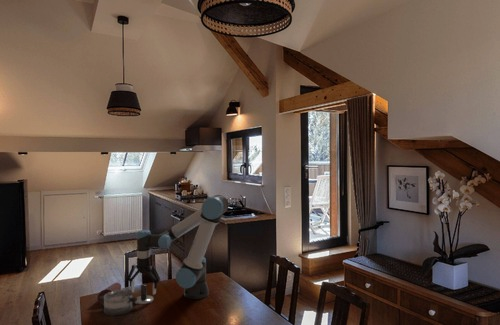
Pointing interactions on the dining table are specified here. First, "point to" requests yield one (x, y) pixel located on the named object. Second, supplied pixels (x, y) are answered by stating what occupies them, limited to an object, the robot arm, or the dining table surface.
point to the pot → (118, 302)
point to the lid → (144, 296)
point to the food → (111, 288)
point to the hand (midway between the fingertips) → (143, 293)
